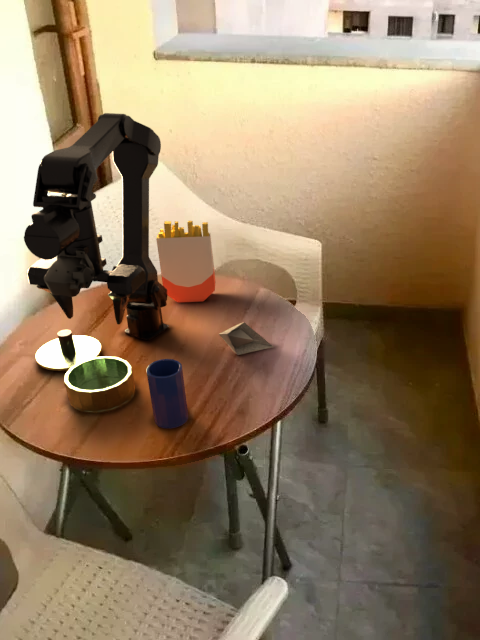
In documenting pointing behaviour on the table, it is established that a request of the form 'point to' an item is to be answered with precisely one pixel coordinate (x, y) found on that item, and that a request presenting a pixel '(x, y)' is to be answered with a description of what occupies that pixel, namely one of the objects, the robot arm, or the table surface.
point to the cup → (167, 393)
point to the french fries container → (186, 262)
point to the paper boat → (244, 339)
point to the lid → (67, 351)
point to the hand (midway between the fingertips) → (95, 320)
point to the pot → (100, 384)
